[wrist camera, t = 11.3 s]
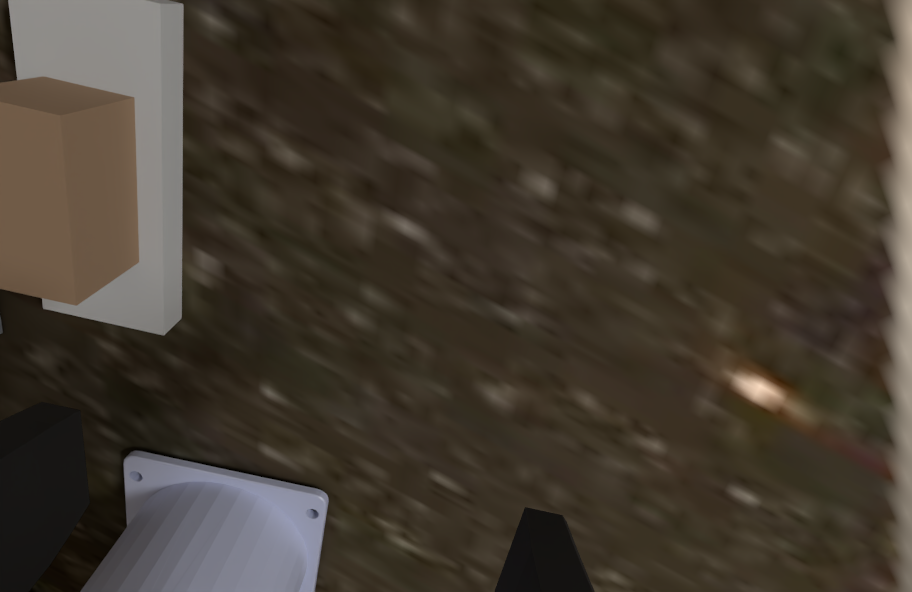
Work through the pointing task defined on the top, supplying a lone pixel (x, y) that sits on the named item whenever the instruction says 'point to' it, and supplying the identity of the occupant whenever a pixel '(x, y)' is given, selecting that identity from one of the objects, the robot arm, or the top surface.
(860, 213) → the top surface
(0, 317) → the felt mat
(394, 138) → the top surface
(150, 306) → the grout float
